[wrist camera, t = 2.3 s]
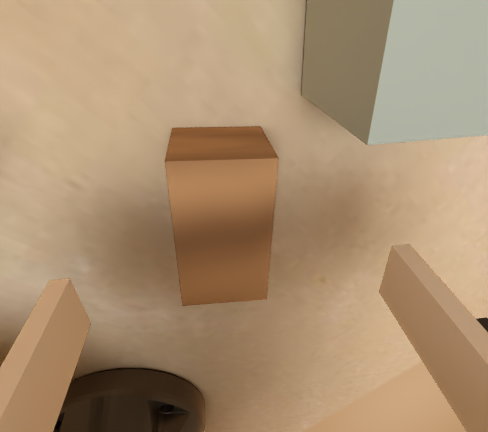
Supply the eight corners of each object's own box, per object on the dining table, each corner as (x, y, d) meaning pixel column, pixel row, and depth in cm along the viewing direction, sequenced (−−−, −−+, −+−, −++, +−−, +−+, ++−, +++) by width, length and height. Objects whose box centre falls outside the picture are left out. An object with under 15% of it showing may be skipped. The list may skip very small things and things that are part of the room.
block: (470, 83, 18) (630, 123, 11) (301, 94, 17) (367, 145, 11) (535, -112, 14) (853, -230, 7) (313, -109, 13) (437, -242, 6)
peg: (254, 247, 23) (266, 299, 19) (185, 251, 23) (182, 305, 18) (259, 125, 18) (278, 158, 14) (172, 127, 18) (164, 161, 14)
